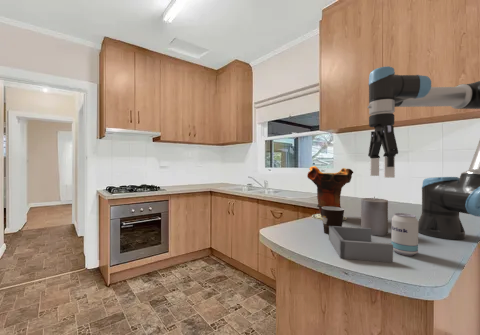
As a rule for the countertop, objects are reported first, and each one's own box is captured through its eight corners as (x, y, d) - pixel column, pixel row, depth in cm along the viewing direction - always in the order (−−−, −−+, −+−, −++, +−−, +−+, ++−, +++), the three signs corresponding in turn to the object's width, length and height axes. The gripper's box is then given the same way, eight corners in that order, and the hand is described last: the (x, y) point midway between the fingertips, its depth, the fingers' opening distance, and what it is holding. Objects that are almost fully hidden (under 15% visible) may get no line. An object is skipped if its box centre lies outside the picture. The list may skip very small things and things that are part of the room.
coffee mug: (346, 236, 91) (346, 210, 91) (322, 235, 93) (323, 209, 93) (339, 229, 103) (340, 206, 103) (319, 227, 104) (319, 205, 104)
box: (369, 242, 85) (370, 228, 85) (392, 262, 67) (393, 244, 67) (328, 239, 88) (329, 225, 88) (340, 258, 70) (340, 241, 70)
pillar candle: (371, 228, 104) (371, 194, 104) (393, 234, 95) (393, 197, 95) (355, 231, 100) (355, 195, 100) (376, 237, 91) (377, 198, 91)
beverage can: (386, 250, 77) (386, 213, 76) (400, 247, 79) (400, 212, 79) (408, 258, 70) (409, 218, 70) (422, 255, 73) (423, 216, 73)
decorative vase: (362, 221, 116) (360, 164, 116) (315, 223, 116) (313, 166, 116) (343, 213, 137) (341, 164, 137) (303, 214, 137) (301, 166, 137)
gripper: (359, 121, 94) (359, 175, 94) (382, 106, 70) (382, 178, 70) (380, 120, 93) (380, 175, 93) (411, 104, 68) (411, 178, 68)
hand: (381, 176), depth 81 cm, fingers open, 13 cm apart
